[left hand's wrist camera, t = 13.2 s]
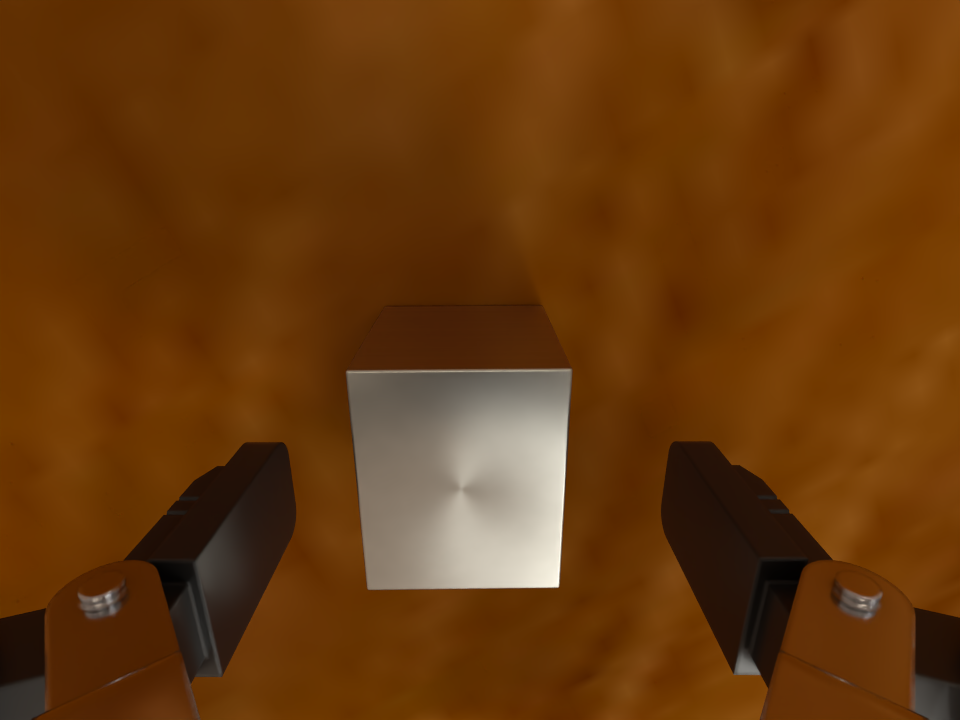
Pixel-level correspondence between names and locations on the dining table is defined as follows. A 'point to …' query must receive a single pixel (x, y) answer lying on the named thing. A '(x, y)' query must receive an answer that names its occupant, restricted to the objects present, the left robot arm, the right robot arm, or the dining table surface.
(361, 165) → the dining table surface
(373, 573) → the block
